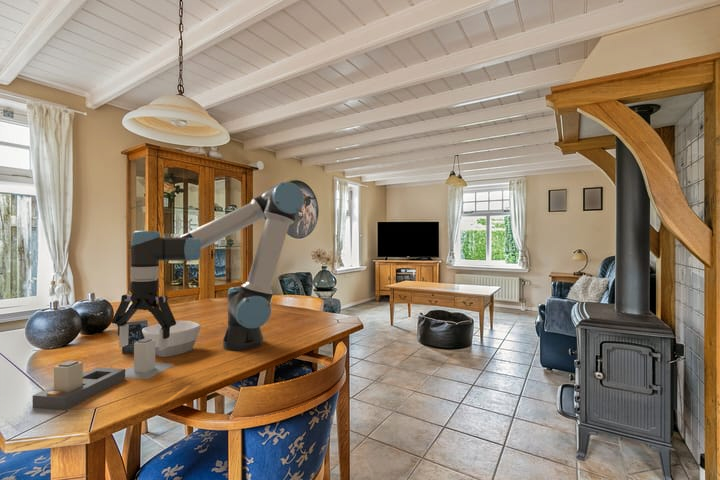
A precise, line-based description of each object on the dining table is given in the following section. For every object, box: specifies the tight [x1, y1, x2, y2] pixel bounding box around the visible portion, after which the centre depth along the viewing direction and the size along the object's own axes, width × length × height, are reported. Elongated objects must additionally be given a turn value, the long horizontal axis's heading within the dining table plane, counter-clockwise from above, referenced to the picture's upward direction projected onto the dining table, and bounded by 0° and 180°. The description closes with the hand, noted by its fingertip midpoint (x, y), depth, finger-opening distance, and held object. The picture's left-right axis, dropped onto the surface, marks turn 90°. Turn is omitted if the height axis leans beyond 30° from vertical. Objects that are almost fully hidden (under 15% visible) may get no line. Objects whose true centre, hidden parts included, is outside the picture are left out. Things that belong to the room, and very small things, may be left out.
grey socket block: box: [32, 367, 126, 411], centre depth 92 cm, size 9×18×4 cm, turn 173°
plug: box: [133, 339, 156, 373], centre depth 107 cm, size 4×4×9 cm
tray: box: [125, 362, 175, 380], centre depth 107 cm, size 12×12×1 cm
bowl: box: [142, 320, 201, 358], centre depth 125 cm, size 18×18×9 cm
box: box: [121, 319, 149, 354], centre depth 126 cm, size 8×6×11 cm
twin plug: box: [53, 360, 84, 393], centre depth 88 cm, size 4×4×9 cm
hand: (143, 347), depth 107 cm, fingers open, 13 cm apart
